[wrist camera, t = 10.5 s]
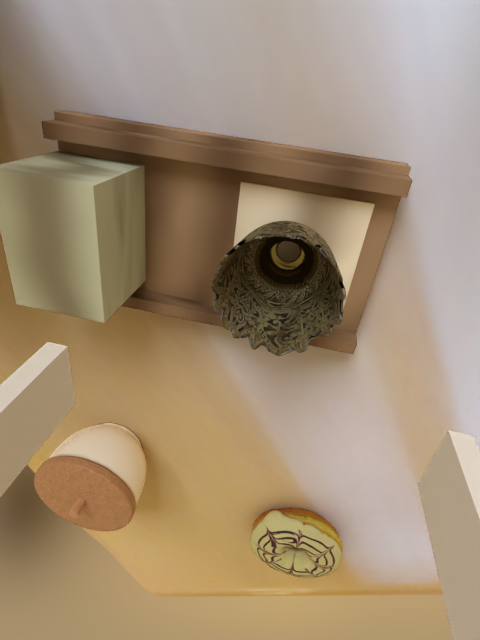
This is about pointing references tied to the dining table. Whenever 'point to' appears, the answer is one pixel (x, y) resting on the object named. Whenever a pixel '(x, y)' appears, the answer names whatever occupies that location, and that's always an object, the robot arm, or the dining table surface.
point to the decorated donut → (296, 542)
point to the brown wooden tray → (181, 216)
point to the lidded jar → (94, 477)
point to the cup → (279, 289)
